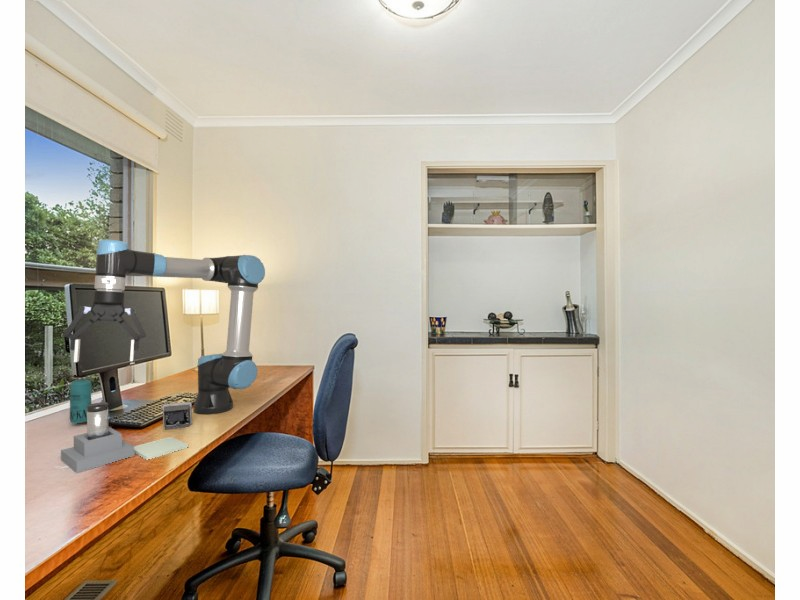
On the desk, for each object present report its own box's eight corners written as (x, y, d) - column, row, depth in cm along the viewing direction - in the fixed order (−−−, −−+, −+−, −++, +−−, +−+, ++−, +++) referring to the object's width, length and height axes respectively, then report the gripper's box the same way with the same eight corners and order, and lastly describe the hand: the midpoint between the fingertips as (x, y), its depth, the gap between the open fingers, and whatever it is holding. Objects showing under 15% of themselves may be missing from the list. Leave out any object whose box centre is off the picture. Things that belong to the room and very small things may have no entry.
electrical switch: (192, 424, 151) (191, 400, 150) (191, 429, 146) (190, 405, 145) (163, 427, 147) (162, 402, 146) (161, 433, 143) (160, 408, 142)
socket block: (116, 445, 130) (116, 424, 129) (134, 456, 121) (134, 433, 121) (61, 460, 118) (60, 436, 118) (76, 473, 110) (76, 447, 110)
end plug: (104, 443, 123) (104, 401, 123) (111, 447, 120) (110, 404, 120) (84, 448, 119) (84, 405, 119) (90, 453, 116) (90, 408, 116)
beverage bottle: (73, 422, 152) (73, 369, 151) (94, 420, 154) (94, 368, 154) (66, 428, 146) (65, 373, 145) (88, 426, 148) (87, 372, 147)
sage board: (170, 439, 135) (170, 436, 135) (188, 447, 128) (188, 444, 128) (130, 450, 126) (130, 447, 126) (146, 460, 118) (146, 457, 118)
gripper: (53, 287, 113) (47, 363, 112) (156, 293, 125) (152, 361, 125) (60, 288, 120) (54, 360, 119) (157, 293, 132) (153, 359, 131)
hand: (104, 361), depth 122 cm, fingers open, 13 cm apart
